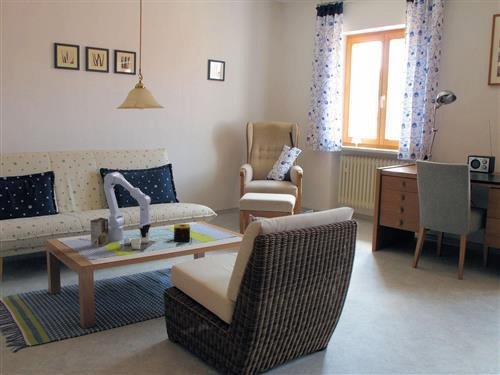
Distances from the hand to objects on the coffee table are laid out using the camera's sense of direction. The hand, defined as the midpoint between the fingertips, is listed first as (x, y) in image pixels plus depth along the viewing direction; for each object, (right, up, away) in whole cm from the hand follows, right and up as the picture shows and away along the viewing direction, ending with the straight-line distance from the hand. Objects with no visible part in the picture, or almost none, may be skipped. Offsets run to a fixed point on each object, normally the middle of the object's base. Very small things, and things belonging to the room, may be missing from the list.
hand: (144, 236), depth 315 cm
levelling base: (-3, -6, -6) cm, 9 cm away
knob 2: (0, -4, +1) cm, 4 cm away
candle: (+21, -4, +13) cm, 25 cm away
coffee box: (-27, -5, -3) cm, 28 cm away
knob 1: (-2, -6, -13) cm, 14 cm away
